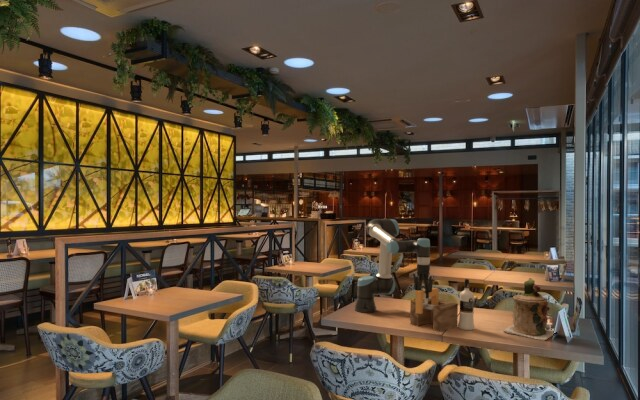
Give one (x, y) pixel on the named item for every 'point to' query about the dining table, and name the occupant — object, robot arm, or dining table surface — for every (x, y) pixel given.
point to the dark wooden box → (436, 315)
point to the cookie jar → (530, 313)
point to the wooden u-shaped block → (420, 296)
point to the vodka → (466, 308)
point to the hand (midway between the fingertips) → (422, 302)
